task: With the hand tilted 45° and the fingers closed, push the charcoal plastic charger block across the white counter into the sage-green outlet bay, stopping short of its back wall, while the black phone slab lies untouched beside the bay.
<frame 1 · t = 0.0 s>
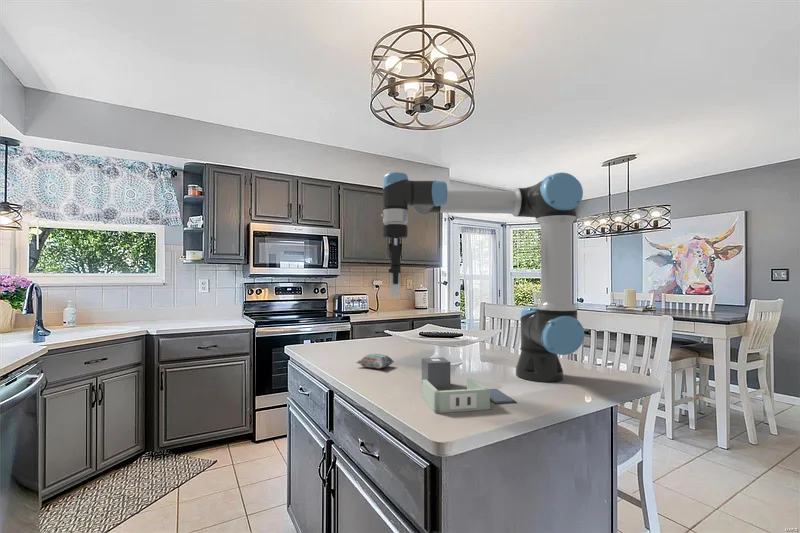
hand: (394, 294, 117), 28 cm above the counter, tool pointing down, fingers open, 13 cm apart
outlet bay: (453, 402, 103), on the counter
charger: (435, 386, 119), on the counter
phone: (495, 398, 109), on the counter
packaged food: (374, 368, 144), on the counter
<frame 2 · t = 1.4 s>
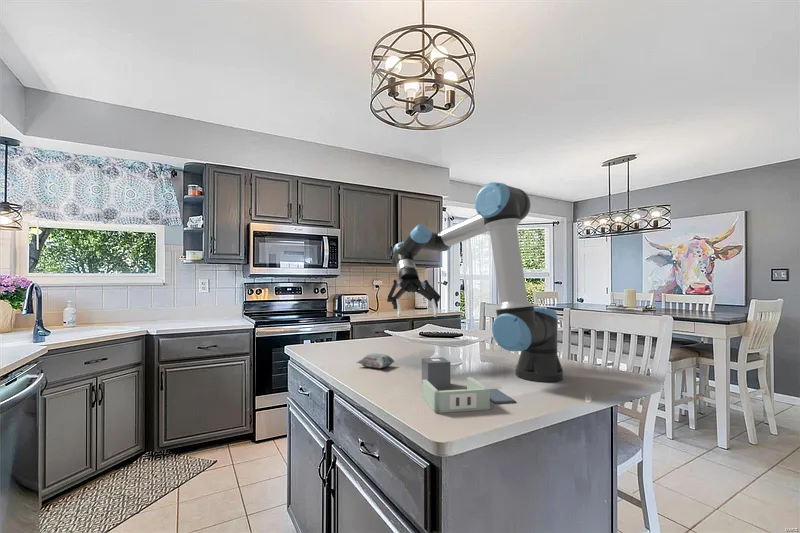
hand: (418, 315, 139), 20 cm above the counter, tool tilted 45°, fingers open, 13 cm apart
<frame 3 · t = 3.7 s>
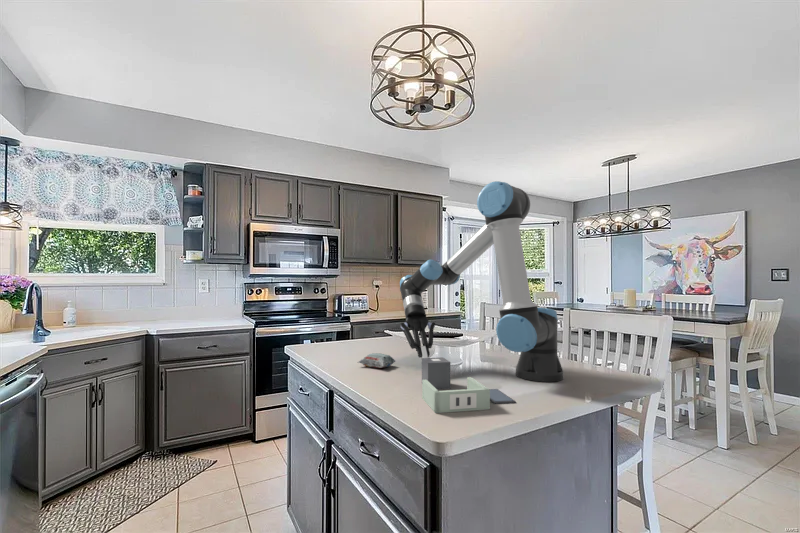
hand: (426, 364, 129), 4 cm above the counter, tool tilted 45°, fingers closed
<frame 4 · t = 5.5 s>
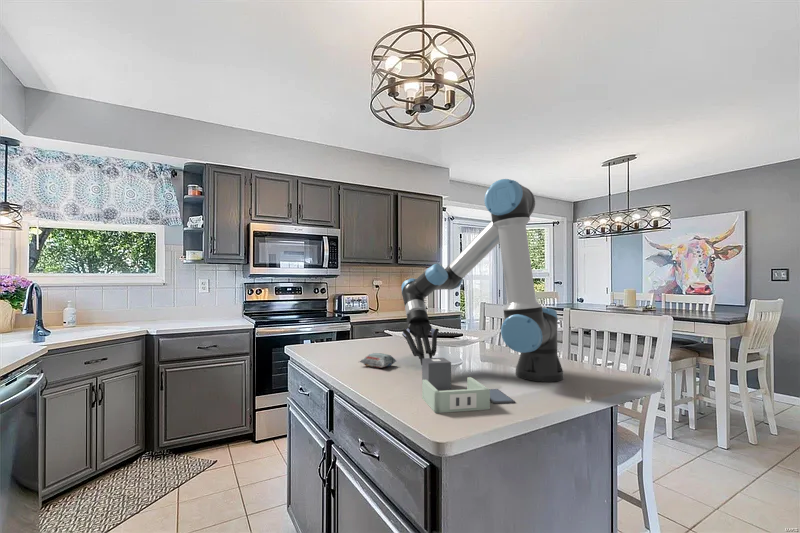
hand: (429, 373, 123), 3 cm above the counter, tool tilted 45°, fingers closed
charger: (436, 386, 119), on the counter, touching gripper
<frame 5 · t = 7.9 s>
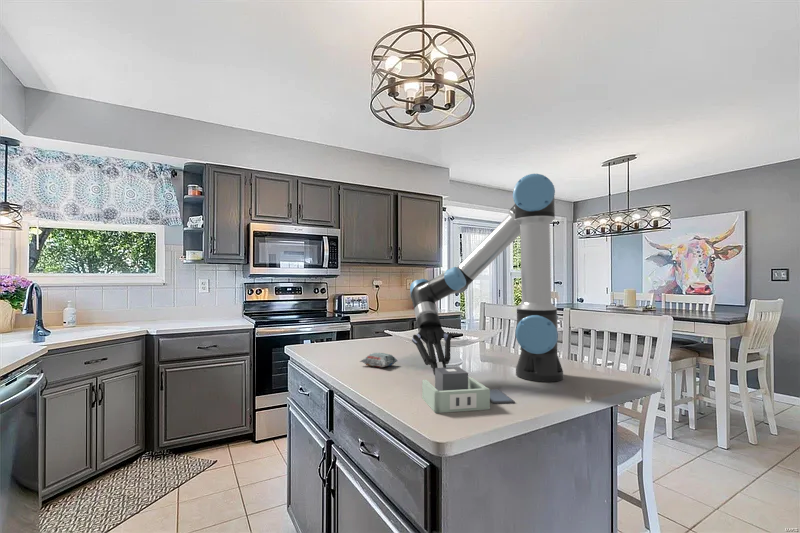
hand: (443, 384, 110), 3 cm above the counter, tool tilted 45°, fingers closed
charger: (451, 400, 106), resting in outlet bay, touching gripper
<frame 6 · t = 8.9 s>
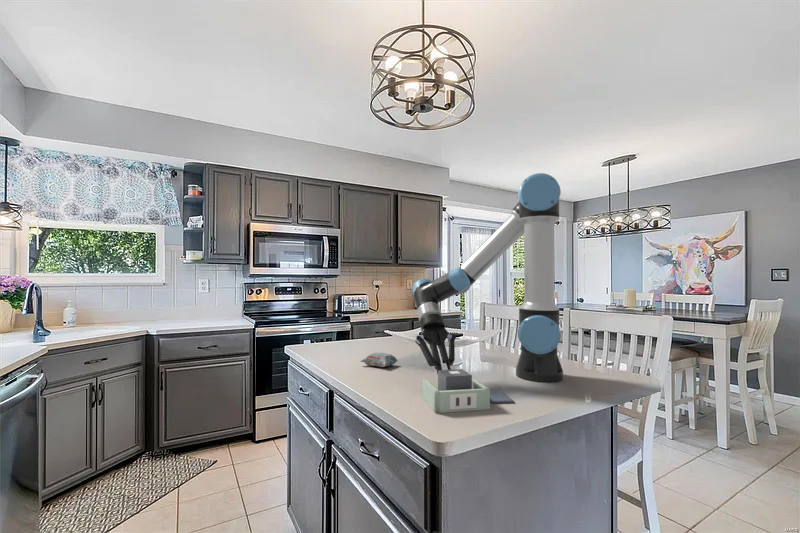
hand: (447, 386, 108), 3 cm above the counter, tool tilted 45°, fingers closed
charger: (454, 402, 104), resting in outlet bay, touching gripper
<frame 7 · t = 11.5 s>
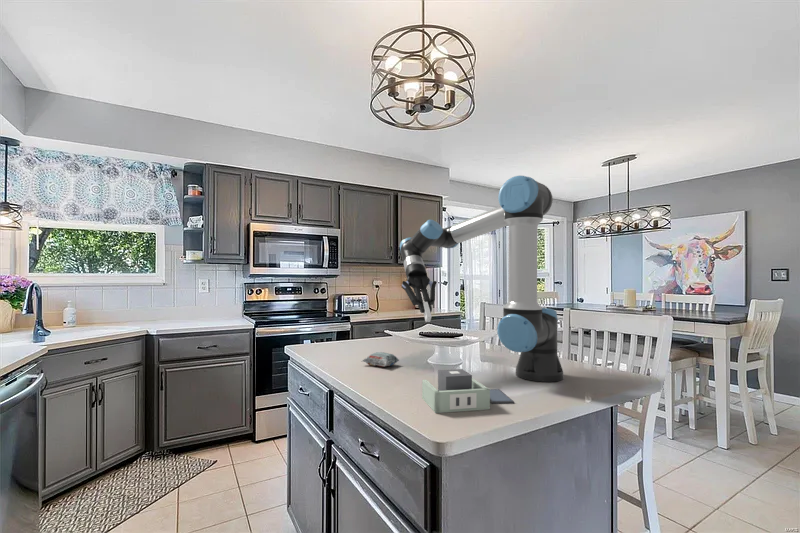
hand: (428, 319, 128), 20 cm above the counter, tool tilted 45°, fingers closed
charger: (454, 402, 103), resting in outlet bay
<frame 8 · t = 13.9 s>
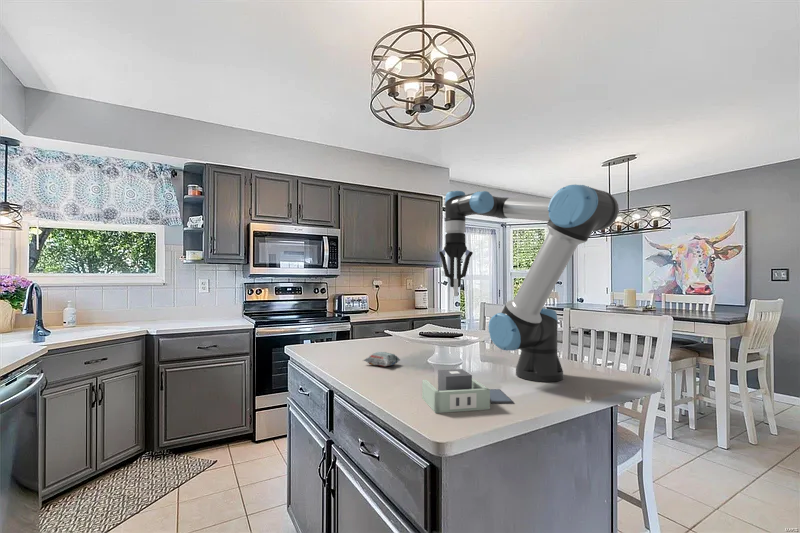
hand: (455, 296, 145), 26 cm above the counter, tool pointing down, fingers closed
at the end: charger inside the target area on the outlet bay (0.4 cm from its centre), point 0.0 cm above the outlet bay's base; charger tilted 0°; phone moved 0.6 cm from its start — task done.
